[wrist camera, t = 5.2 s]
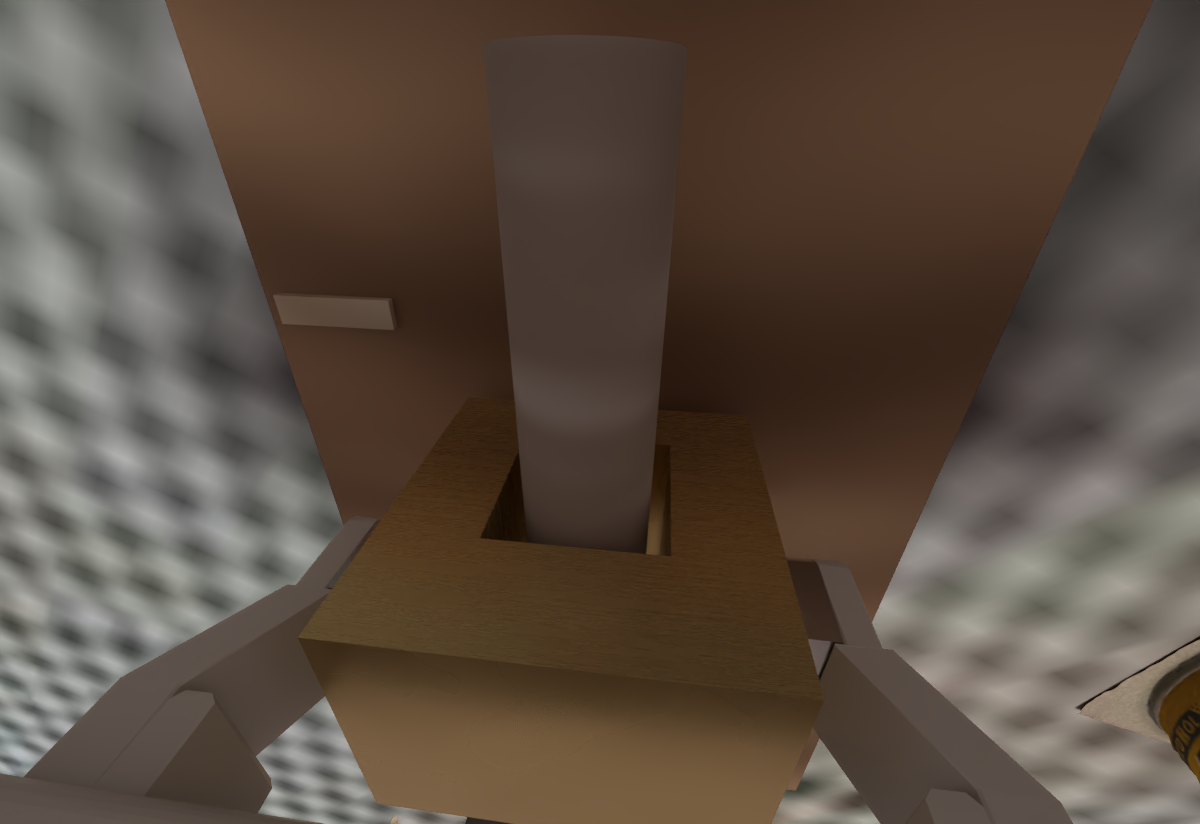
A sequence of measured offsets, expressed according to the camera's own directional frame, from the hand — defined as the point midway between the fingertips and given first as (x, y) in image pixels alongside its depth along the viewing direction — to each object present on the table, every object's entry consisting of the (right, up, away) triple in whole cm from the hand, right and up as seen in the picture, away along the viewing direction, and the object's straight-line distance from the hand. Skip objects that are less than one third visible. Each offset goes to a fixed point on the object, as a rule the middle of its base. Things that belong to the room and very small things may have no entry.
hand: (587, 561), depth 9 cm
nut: (0, +1, +2) cm, 2 cm away
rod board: (0, 0, +5) cm, 5 cm away
